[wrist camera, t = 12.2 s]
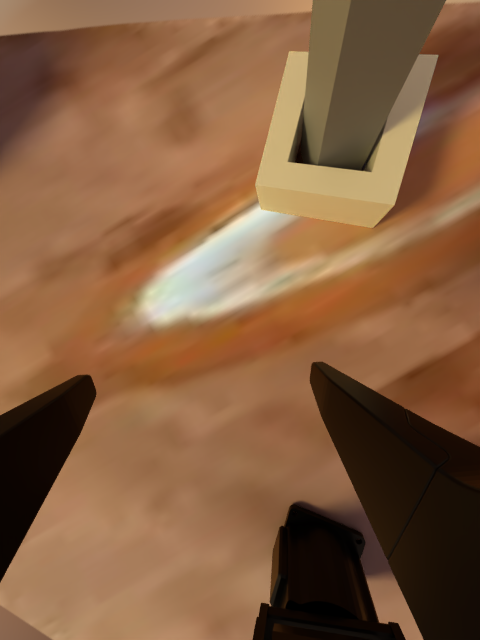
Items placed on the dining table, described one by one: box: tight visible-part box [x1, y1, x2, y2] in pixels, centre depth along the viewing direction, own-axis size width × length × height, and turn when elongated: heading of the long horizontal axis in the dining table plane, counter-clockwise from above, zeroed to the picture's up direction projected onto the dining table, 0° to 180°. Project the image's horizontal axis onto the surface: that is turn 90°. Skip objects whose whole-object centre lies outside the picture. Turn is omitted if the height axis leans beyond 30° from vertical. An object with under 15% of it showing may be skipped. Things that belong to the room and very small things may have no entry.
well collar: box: [255, 51, 438, 228], centre depth 18 cm, size 10×10×4 cm
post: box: [300, 0, 446, 171], centre depth 13 cm, size 4×4×15 cm
